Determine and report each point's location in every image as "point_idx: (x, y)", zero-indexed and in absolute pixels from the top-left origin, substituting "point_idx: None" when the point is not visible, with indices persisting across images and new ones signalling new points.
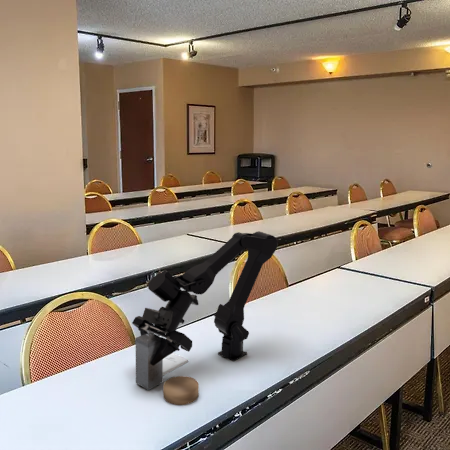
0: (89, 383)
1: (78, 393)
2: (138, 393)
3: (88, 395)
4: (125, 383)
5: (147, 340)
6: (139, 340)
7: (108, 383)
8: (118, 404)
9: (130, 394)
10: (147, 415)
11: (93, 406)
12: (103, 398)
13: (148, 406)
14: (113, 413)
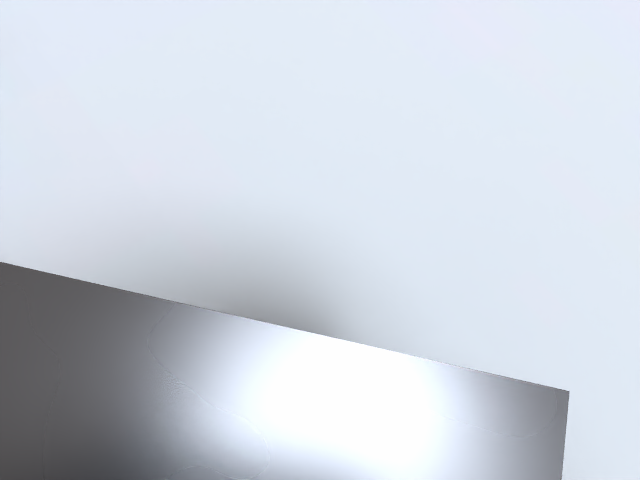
0: (633, 206)
1: (588, 82)
2: (255, 272)
3: (521, 93)
4: (430, 337)
5: (38, 475)
6: (338, 339)
7: (531, 272)
8: (287, 100)
9: (297, 233)
10: (41, 88)
11: (403, 18)
12: (417, 109)
13: (92, 172)
14: (249, 15)
